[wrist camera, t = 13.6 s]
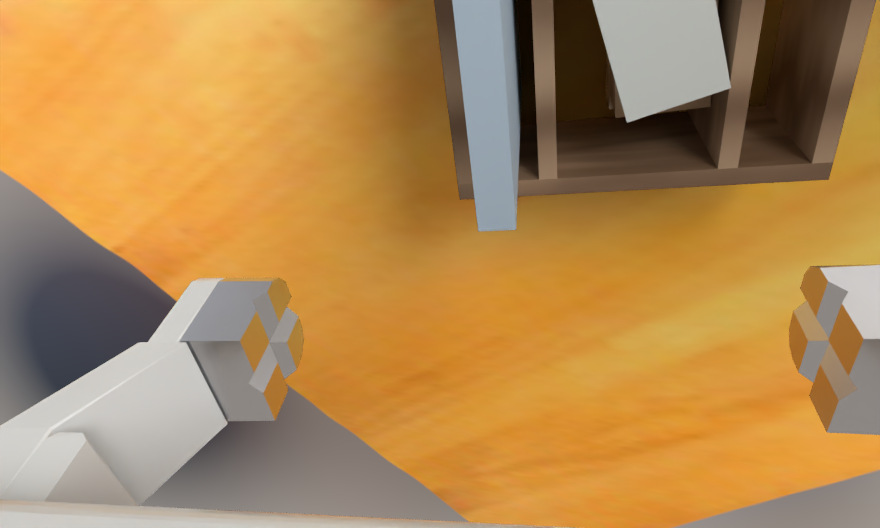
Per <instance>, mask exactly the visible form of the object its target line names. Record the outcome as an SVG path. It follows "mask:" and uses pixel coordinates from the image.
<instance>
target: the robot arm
mask: <svg viewBox="0 0 880 528" xmlns="http://www.w3.org/2000/svg"><path fill="white" fill-rule="evenodd" d="M800 289H801V291H802V292H803V294H804V296H805V298H806V300H807V301H806V302H804V303H803V304H802V305H801V306H799V307H798V308H797V309H796V310H794V311H793V315H792V319H791V323H790V327H789V344H790V350H791V354H792V358H793V361H794V363H795V365H796V368H797V370H798V372H799V373H800V374H802V375H803V376H805V377H806V378H808V379H809V380H810V381H812V382H813V386H812V389H811V392H810V395H809V396H810V398H811V400H812V402H813V404H814V407H815V409H816V411H817V413H818V415H819V417H820V419H821V421H822V423H823V425H824V428H825V430H826V432H829V433H851V434H874V435H880V264H879V265H841V266H810V268H809V269H808V270H807V272H806V273H805V275H804V278H803V281H802V284H801V287H800ZM291 297H292V296H291V294H290V291H289V289H288V286H287V284H286V281H284V280H282V279H280V278H199V279H197V280H194V281H192V282H191V283H190V285H189V286H188V287H187V289H186V290H185V292H184V293H183V294H182V296H181V297H180V298H179V300H178V301H177V303H176V304H175V305H174V307H173V308H172V310H171V311H170V312H169V314H168V315H167V316H166V318H165V319H164V320H163V322H162V323H161V325H160V326H159V328H158V329H157V330H156V332H155V333H154V334H153V336H152V337H151V338H150V340H149V341H148V342H140V343H137V344H136V345H134V346H132V347H131V348H129V349H127V350H126V351H124V352H122V353H121V354H119V355H117V356H116V357H114V358H113V359H111V360H109V361H107V362H106V363H104V364H102V365H101V366H99V367H98V368H96V369H94V370H92V371H91V372H89V373H87V374H86V375H84V376H83V377H81V378H79V379H78V380H76V381H74V382H72V383H71V384H69V385H67V386H66V387H64V388H62V389H61V390H59V391H57V392H56V393H54V394H52V395H51V396H49V397H48V398H46V399H44V400H42V401H41V402H39V403H37V404H36V405H34V406H32V407H31V408H29V409H28V410H26V411H24V412H23V413H21V414H19V415H18V416H16V417H14V418H12V419H11V420H9V421H8V422H6V423H4V424H2V425H1V426H0V528H574V527H554V526H534V525H514V524H494V523H474V522H453V521H433V520H413V519H392V518H373V517H353V516H332V515H312V514H291V513H271V512H270V513H269V512H250V511H230V510H209V509H190V508H169V507H149V506H148V507H147V506H140V505H141V504H142V503H143V502H144V501H145V500H146V499H147V498H149V497H150V496H151V495H152V494H153V493H154V492H155V491H156V490H157V489H158V488H159V487H160V486H161V485H162V484H163V483H165V482H166V481H167V480H168V479H169V478H170V477H171V476H172V475H173V474H174V473H175V472H176V471H177V470H179V468H181V467H182V466H183V465H184V464H185V463H186V462H187V461H188V460H189V459H190V458H191V457H192V456H193V455H195V454H196V453H197V452H198V451H199V450H200V449H201V448H202V447H203V446H204V445H205V444H206V443H207V442H208V441H210V440H211V439H212V438H213V437H214V436H215V435H216V434H217V433H218V432H219V431H220V430H221V429H222V428H223V427H225V425H227V421H275V420H276V417H277V415H278V413H279V410H280V408H281V406H282V403H283V401H284V399H285V396H286V394H287V392H288V387H287V385H286V382H285V380H284V379H285V378H286V377H288V376H289V375H290V374H292V373H293V372H294V371H295V370H297V368H298V365H299V362H300V360H301V357H302V351H303V343H304V338H303V330H302V325H301V322H300V319H299V316H297V315H296V314H295V313H294V312H293V311H291V310H290V309H289V308H288V307H287V305H288V303H289V301H290V299H291Z"/></svg>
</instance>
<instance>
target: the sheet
mask: <svg viewBox="0 0 880 528" xmlns="http://www.w3.org/2000/svg"><path fill="white" fill-rule="evenodd" d="M452 3H453V12H454V21H455V30H456V39H457V47H458V56H459V65H460V74H461V83H462V92H463V101H464V109H465V118H466V127H467V136H468V145H469V154H470V162H471V171H472V180H473V189H474V198H475V207H476V216H477V224H478V231H500V230H516V219H517V195H518V171H519V147H520V123H521V99H522V79H521V61H520V43H519V25H518V7H517V0H452Z"/></svg>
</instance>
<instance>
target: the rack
mask: <svg viewBox="0 0 880 528" xmlns="http://www.w3.org/2000/svg"><path fill="white" fill-rule="evenodd" d="M765 1H766V0H718V17H719V23H720V28H721V34H722V40H723V45H724V51H725V56H726V62H727V68H728V73H729V79H730V85H731V88H730V89H727V90H724V91H721V92H718V93H715V94H712V95H711V106H710V107H704V108H696V109H687V112H673V113H660V114H652V115H649V116H646V117H643V118H640V119H637V120H634V121H631V122H628V123H627V121H626V118H625V117H620V118H615V117H607V118H594V119H581V120H567V121H556V101H555V58H554V15H553V0H532V24H533V47H534V71H535V94H536V118H537V123H528V124H520V147H519V171H518V195H517V196H535V195H553V194H571V193H590V192H608V191H626V190H645V189H663V188H681V187H700V186H718V185H736V184H755V183H773V182H791V181H810V180H828V179H829V176H830V172H831V168H832V165H833V161H834V157H835V153H836V150H837V146H838V142H839V138H840V134H841V131H842V127H843V123H844V119H845V116H846V112H847V108H848V104H849V100H850V97H851V93H852V89H853V85H854V82H855V78H856V74H857V70H858V66H859V63H860V59H861V55H862V51H863V48H864V44H865V40H866V36H867V32H868V29H869V25H870V21H871V17H872V14H873V10H874V6H875V2H876V0H784V3H783V8H782V14H781V19H780V25H779V30H778V36H777V41H776V47H775V52H774V57H773V63H772V68H771V74H770V79H769V85H768V90H767V96H766V101H765V106H753V107H748V104H749V98H750V92H751V86H752V80H753V74H754V68H755V62H756V56H757V50H758V44H759V38H760V32H761V25H762V19H763V13H764V7H765ZM434 3H435V11H436V19H437V26H438V34H439V42H440V50H441V57H442V65H443V73H444V81H445V88H446V96H447V104H448V112H449V119H450V127H451V135H452V142H453V150H454V158H455V166H456V173H457V181H458V189H459V197H460V200H461V199H475V198H474V189H473V180H472V171H471V162H470V154H469V145H468V136H467V127H466V118H465V109H464V101H463V92H462V83H461V74H460V65H459V56H458V47H457V39H456V30H455V21H454V12H453V3H452V0H434Z"/></svg>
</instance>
